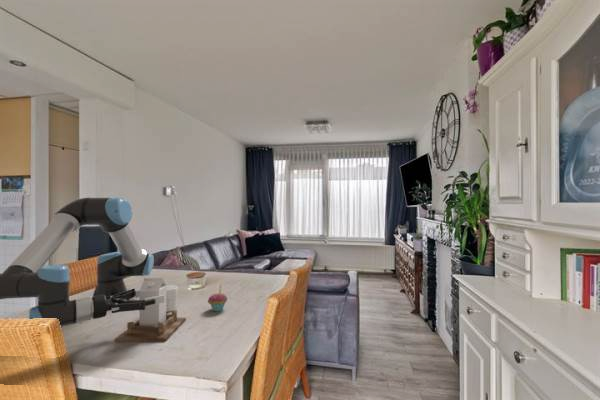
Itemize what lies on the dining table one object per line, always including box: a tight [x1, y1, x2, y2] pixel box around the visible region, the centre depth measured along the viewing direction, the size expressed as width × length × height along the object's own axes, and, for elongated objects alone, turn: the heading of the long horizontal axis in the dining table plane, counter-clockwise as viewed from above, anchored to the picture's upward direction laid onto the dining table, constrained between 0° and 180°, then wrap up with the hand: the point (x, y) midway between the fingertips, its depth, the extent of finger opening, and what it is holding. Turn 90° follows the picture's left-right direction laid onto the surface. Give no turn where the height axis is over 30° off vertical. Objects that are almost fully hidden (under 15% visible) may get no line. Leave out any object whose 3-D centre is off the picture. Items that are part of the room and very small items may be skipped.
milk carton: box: [138, 277, 167, 326], centre depth 109 cm, size 7×7×19 cm
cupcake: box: [207, 284, 228, 312], centre depth 131 cm, size 9×8×12 cm
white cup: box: [166, 284, 179, 313], centre depth 131 cm, size 8×8×10 cm
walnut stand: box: [114, 309, 187, 343], centre depth 109 cm, size 18×18×5 cm
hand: (158, 294), depth 111 cm, fingers open, 13 cm apart
